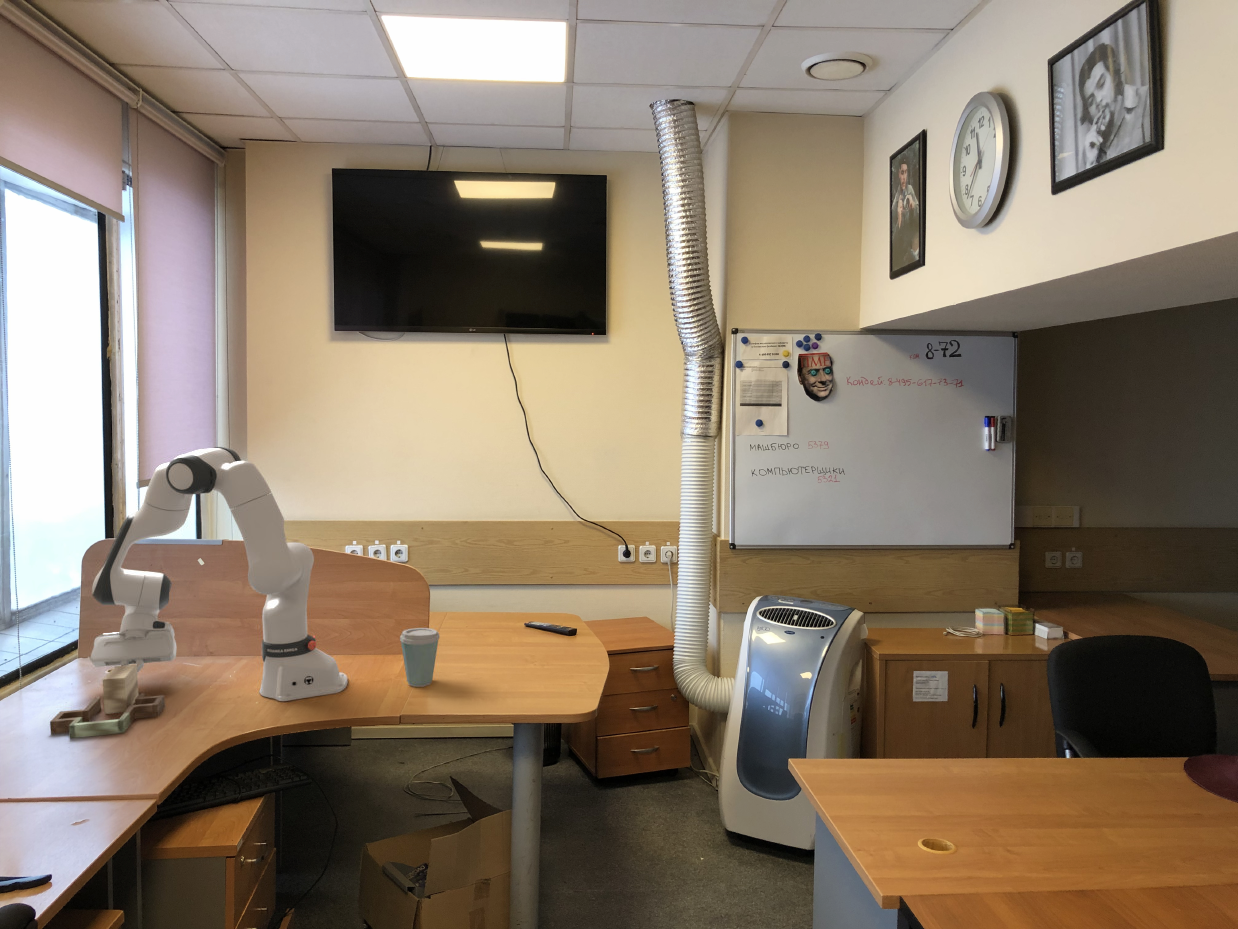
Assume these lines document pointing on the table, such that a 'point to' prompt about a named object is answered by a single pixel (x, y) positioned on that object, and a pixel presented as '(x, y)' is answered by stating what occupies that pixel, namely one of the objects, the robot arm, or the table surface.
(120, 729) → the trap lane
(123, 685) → the beech block
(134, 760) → the table surface
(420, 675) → the disposable coffee cup
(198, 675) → the table surface
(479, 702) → the table surface
